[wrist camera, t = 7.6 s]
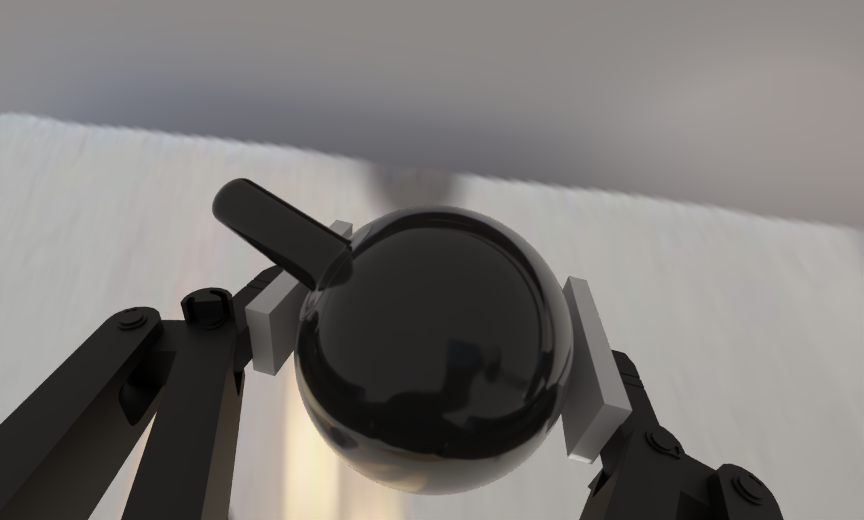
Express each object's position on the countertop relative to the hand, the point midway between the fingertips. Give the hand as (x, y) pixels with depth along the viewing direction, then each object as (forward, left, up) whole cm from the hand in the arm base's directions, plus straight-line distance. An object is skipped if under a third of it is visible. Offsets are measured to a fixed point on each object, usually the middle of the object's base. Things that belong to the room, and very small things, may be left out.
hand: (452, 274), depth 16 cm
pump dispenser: (0, +3, -5) cm, 6 cm away
